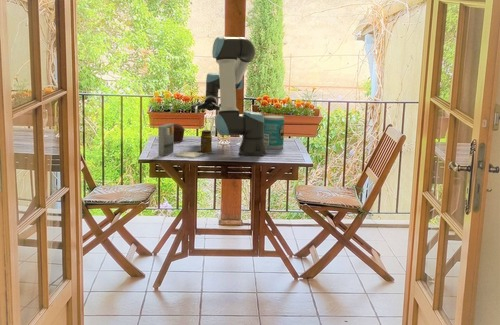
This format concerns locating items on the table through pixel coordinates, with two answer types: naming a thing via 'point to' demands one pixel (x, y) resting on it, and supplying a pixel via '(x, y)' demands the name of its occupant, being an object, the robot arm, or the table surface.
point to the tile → (189, 154)
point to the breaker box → (166, 139)
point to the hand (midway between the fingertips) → (207, 111)
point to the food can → (273, 131)
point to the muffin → (178, 133)
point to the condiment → (206, 142)
